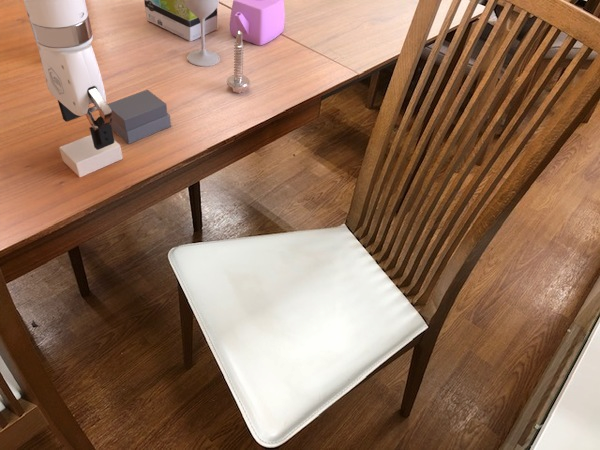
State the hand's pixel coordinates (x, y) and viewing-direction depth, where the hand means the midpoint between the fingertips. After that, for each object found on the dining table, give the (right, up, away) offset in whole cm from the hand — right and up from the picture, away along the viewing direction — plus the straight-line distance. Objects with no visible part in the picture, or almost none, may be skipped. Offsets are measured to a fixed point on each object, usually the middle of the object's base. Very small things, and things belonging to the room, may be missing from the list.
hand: (88, 131), depth 82 cm
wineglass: (+13, +22, +32) cm, 41 cm away
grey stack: (+5, +3, +12) cm, 13 cm away
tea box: (+5, +34, +42) cm, 54 cm away
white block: (-1, -4, +4) cm, 6 cm away
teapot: (+24, +32, +43) cm, 59 cm away
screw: (+21, +13, +25) cm, 35 cm away
